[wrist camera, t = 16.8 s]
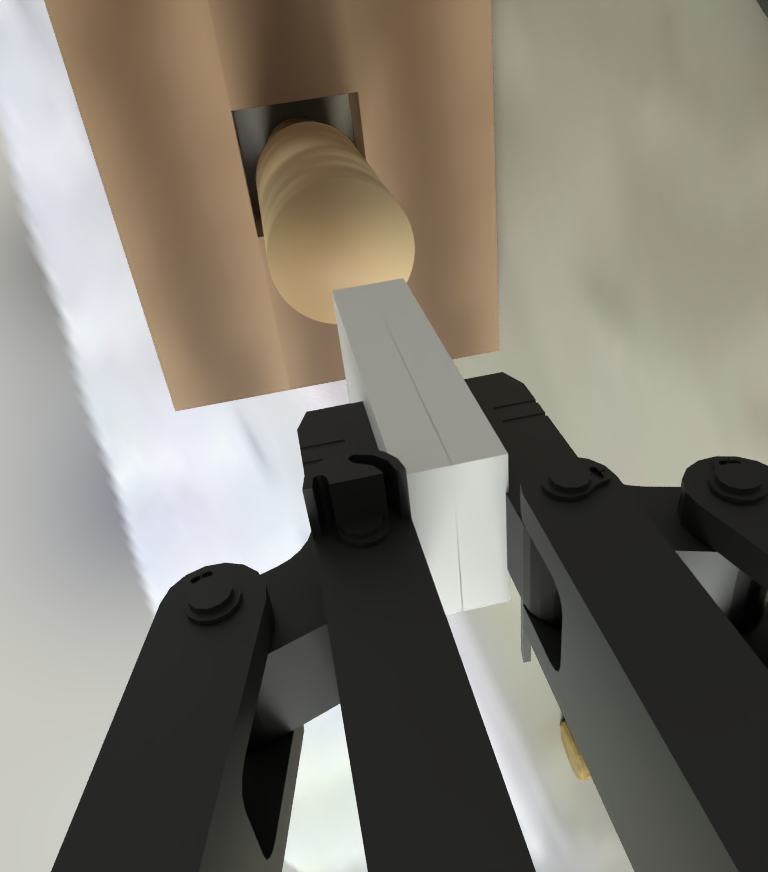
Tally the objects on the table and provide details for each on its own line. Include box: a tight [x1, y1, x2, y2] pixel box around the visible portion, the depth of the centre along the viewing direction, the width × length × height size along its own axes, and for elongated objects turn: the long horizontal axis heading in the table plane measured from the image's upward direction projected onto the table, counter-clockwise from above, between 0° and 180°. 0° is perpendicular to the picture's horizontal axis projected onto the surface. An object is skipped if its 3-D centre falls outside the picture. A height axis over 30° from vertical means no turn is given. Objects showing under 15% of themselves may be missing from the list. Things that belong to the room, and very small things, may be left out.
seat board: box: [44, 0, 499, 411], centre depth 31 cm, size 16×20×3 cm
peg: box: [256, 117, 415, 324], centre depth 26 cm, size 4×4×14 cm
